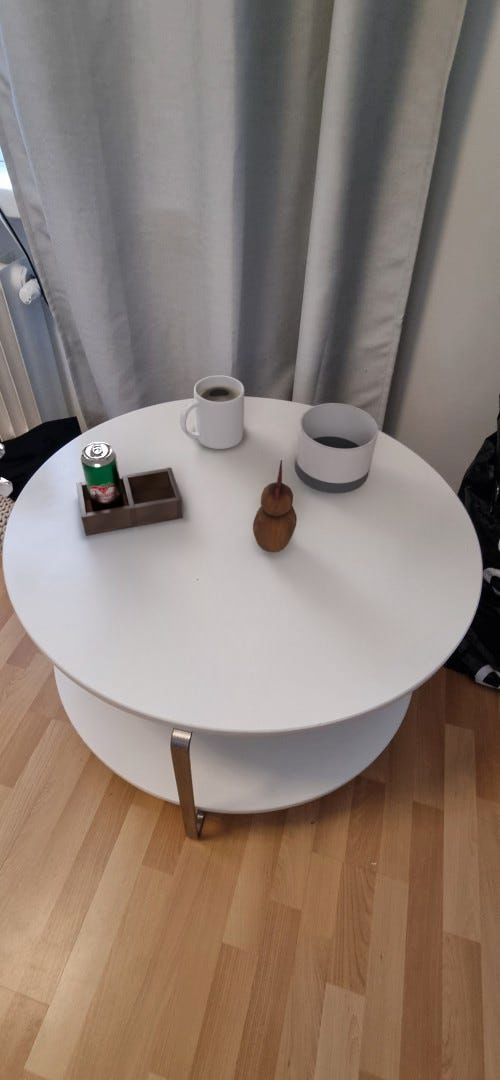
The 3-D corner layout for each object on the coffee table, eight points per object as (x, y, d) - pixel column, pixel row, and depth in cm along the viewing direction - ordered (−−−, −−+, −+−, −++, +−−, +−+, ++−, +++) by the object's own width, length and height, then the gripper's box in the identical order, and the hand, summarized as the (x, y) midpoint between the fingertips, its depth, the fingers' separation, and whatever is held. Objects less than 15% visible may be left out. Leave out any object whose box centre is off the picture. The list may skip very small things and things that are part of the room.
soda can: (93, 523, 92) (79, 463, 83) (92, 501, 95) (79, 442, 86) (125, 519, 93) (115, 459, 84) (124, 498, 96) (114, 438, 87)
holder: (85, 536, 91) (81, 517, 88) (80, 501, 96) (76, 482, 93) (183, 518, 94) (181, 499, 91) (172, 485, 100) (171, 467, 97)
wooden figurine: (267, 522, 94) (273, 448, 83) (299, 537, 92) (309, 462, 81) (245, 549, 90) (248, 474, 79) (278, 564, 88) (286, 490, 77)
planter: (381, 487, 101) (394, 438, 94) (317, 507, 97) (325, 458, 89) (342, 444, 109) (351, 396, 101) (281, 462, 105) (285, 413, 97)
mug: (245, 423, 113) (247, 377, 105) (239, 453, 106) (241, 407, 99) (189, 418, 113) (187, 371, 106) (180, 448, 107) (177, 401, 99)
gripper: (-81, 451, 67) (28, 498, 76) (-83, 370, 80) (10, 418, 90) (-109, 491, 68) (1, 531, 78) (-106, 405, 82) (-13, 448, 92)
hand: (6, 470), depth 84 cm, fingers open, 8 cm apart
